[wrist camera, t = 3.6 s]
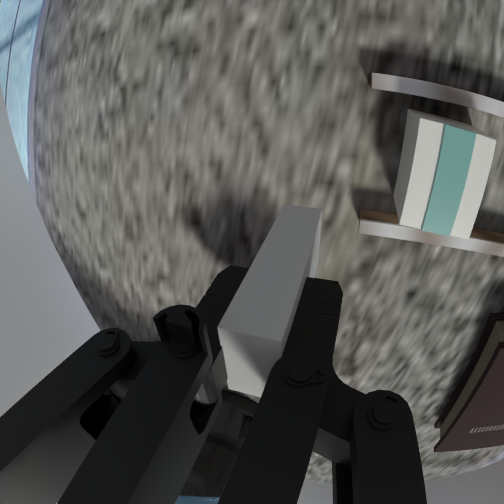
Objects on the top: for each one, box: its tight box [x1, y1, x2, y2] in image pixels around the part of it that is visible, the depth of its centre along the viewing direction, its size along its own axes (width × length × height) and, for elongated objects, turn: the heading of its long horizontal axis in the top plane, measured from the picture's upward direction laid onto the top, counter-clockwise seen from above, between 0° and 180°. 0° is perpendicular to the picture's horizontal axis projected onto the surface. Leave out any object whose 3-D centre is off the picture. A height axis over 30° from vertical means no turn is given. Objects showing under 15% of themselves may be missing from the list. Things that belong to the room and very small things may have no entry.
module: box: [393, 109, 496, 240], centre depth 20 cm, size 6×8×6 cm
